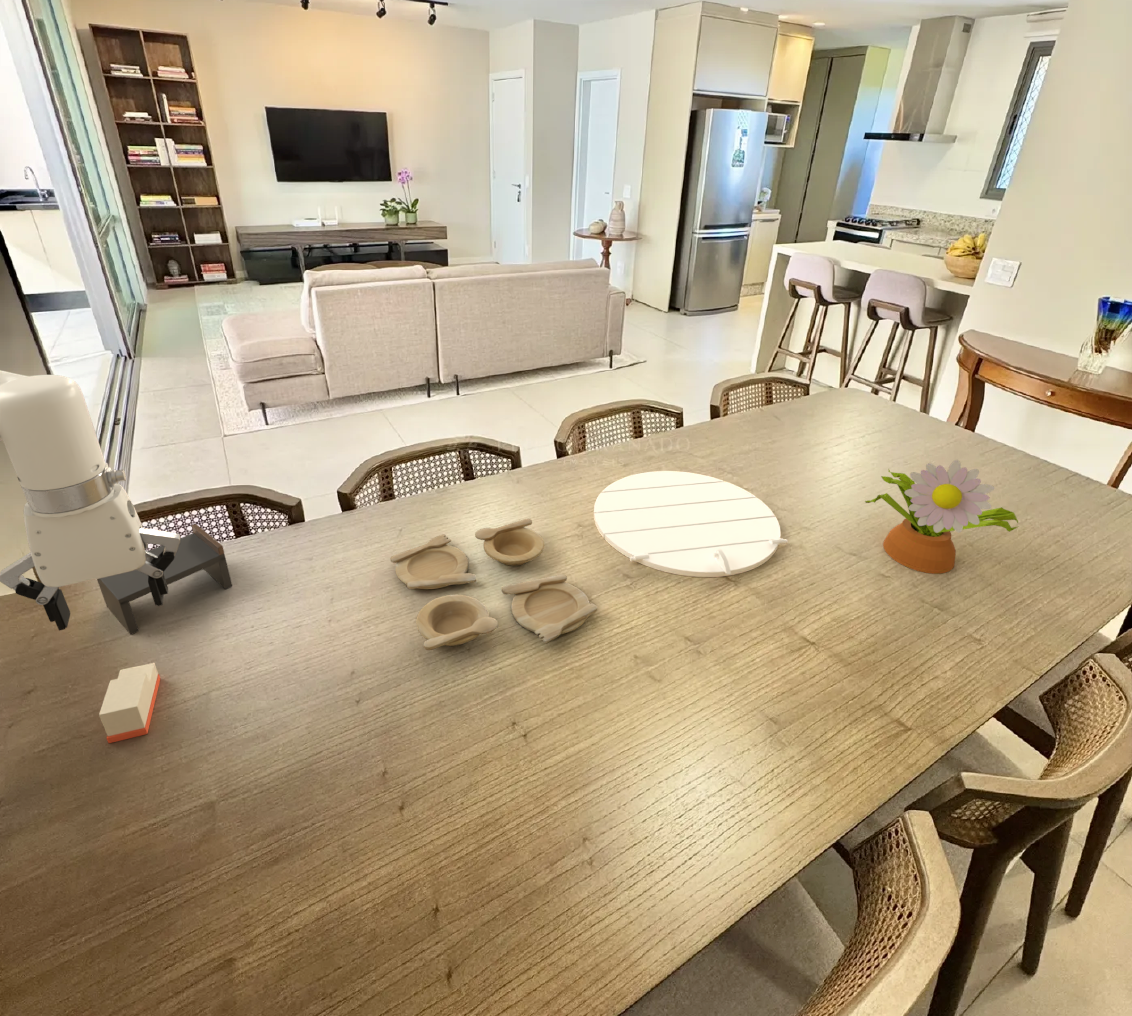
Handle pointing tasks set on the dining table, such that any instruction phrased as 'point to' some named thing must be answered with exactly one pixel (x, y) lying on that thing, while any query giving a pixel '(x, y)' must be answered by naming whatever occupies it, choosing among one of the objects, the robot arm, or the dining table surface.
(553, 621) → the tableware set
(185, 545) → the shoe shelf
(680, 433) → the dining table surface
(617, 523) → the lazy susan
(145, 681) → the orange-based notched block
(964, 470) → the decorative plant
